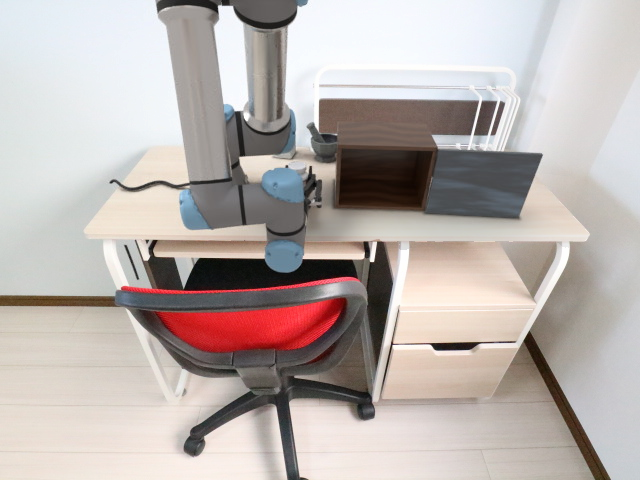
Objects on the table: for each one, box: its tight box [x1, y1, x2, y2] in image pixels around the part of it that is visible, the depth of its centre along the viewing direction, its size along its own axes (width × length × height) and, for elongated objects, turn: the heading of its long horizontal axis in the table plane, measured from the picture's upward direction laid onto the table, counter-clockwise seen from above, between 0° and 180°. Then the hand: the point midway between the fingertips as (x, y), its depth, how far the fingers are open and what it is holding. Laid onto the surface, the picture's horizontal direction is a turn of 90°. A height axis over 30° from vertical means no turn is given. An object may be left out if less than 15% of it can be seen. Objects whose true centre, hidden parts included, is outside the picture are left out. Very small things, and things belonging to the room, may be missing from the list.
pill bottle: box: [287, 160, 309, 188], centre depth 101 cm, size 6×6×10 cm
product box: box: [273, 138, 297, 160], centre depth 128 cm, size 6×6×7 cm
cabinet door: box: [424, 148, 544, 219], centre depth 98 cm, size 6×24×18 cm, turn 86°
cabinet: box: [334, 120, 439, 212], centre depth 104 cm, size 16×24×18 cm, turn 88°
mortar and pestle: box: [306, 121, 337, 163], centre depth 124 cm, size 11×9×12 cm
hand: (299, 170), depth 104 cm, fingers closed on pill bottle, 6 cm apart
